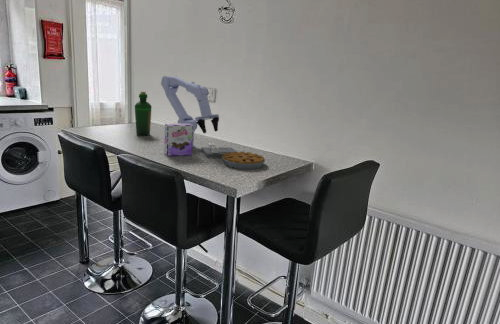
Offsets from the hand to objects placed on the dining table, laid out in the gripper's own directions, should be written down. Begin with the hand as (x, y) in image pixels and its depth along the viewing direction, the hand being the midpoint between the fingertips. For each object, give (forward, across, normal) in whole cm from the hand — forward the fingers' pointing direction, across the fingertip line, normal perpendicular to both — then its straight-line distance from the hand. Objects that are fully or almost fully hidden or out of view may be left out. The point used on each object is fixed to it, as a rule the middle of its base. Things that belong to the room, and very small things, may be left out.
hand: (210, 132), depth 190 cm
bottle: (-12, -14, +58) cm, 61 cm away
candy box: (+8, -20, +5) cm, 22 cm away
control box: (+13, +1, -2) cm, 13 cm away
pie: (+21, 0, -22) cm, 30 cm away
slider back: (+9, 0, +3) cm, 9 cm away
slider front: (+11, -4, -5) cm, 13 cm away
